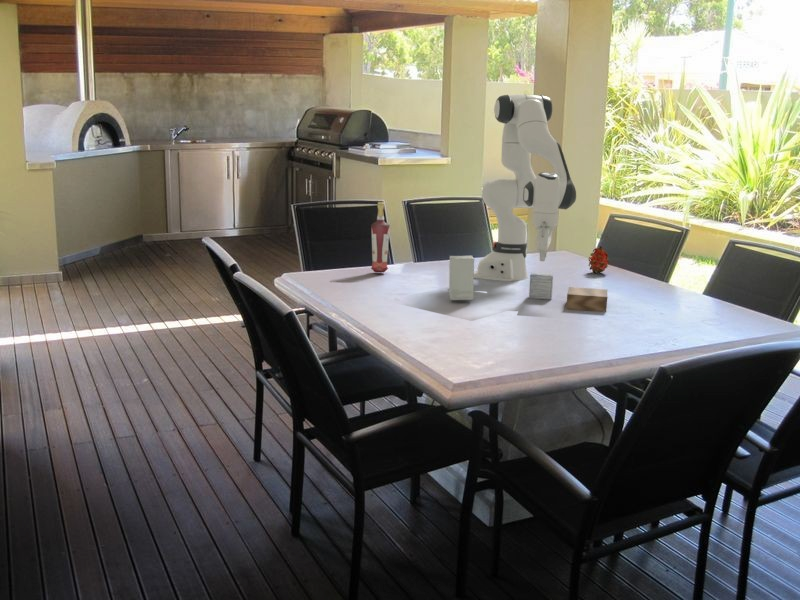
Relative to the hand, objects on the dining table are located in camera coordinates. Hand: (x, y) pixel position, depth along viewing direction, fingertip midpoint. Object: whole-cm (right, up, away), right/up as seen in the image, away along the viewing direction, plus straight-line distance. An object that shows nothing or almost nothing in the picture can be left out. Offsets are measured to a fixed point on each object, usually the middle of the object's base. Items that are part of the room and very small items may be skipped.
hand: (542, 259), depth 295 cm
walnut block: (+13, -16, -9) cm, 23 cm away
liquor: (-58, -3, +47) cm, 75 cm away
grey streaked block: (0, -14, +3) cm, 14 cm away
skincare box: (-29, -14, -1) cm, 32 cm away
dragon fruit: (+31, -4, +53) cm, 61 cm away
